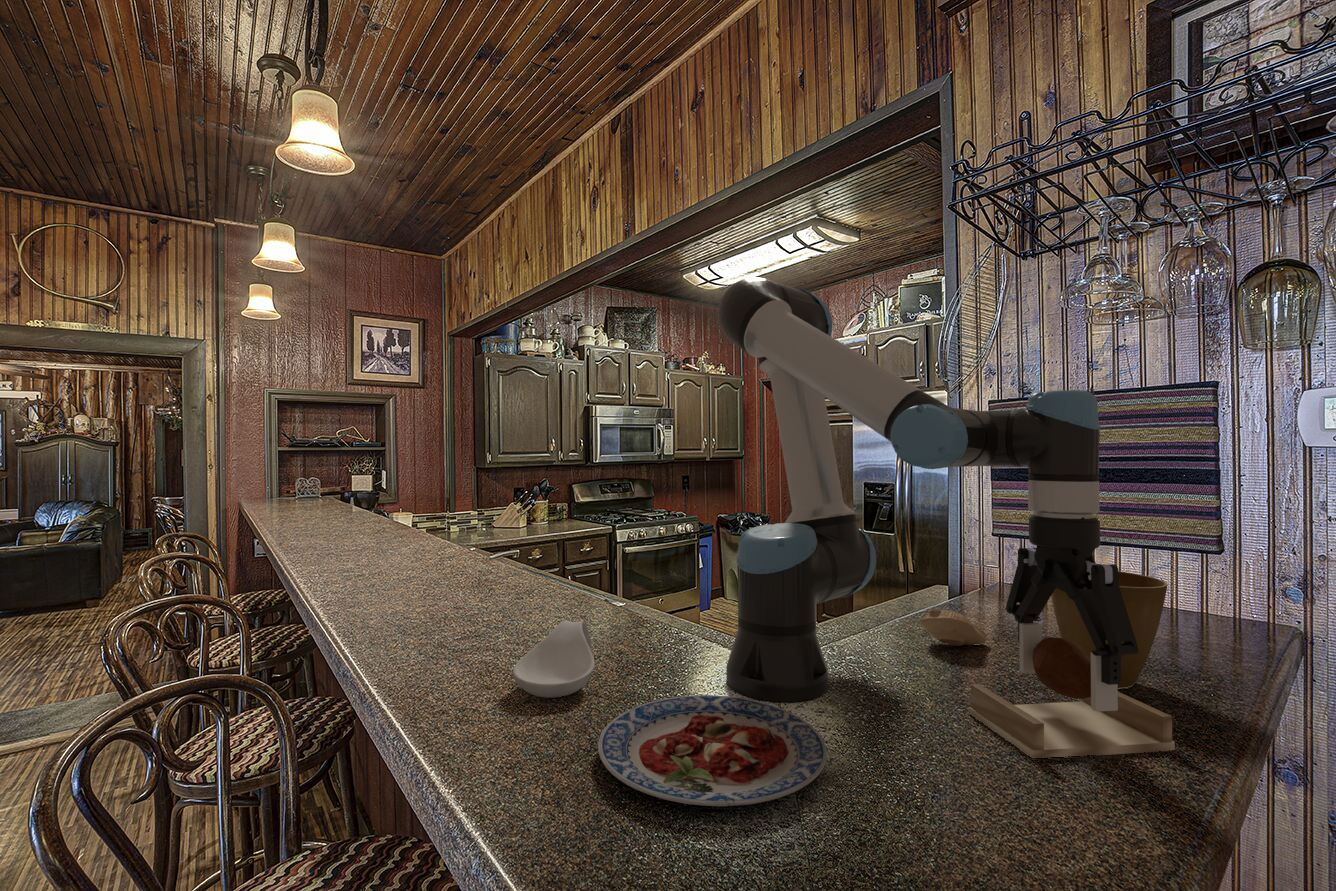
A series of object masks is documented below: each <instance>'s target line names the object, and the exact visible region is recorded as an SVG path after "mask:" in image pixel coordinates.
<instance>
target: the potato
mask: <svg viewBox="0 0 1336 891" xmlns="http://www.w3.org/2000/svg"><path fill="white" fill-rule="evenodd" d="M1032 659H1033V667H1034V670H1035V673H1034V674H1035V675H1036V677H1037V679H1038V680H1039V681H1040V682H1041V684H1042V685H1044V686H1045V687H1046V688H1048V689H1050V690H1051V691H1053V692H1054V693H1056V694H1058V695H1059V696H1060V695H1061V696H1064V697H1066V698H1070V699H1071V698H1072V699H1082V700H1083V698H1090V697H1091V660H1090V659H1089V658H1088V657H1087V655H1086V653H1085V652H1084V651H1083V650H1082V649H1081V648H1080V647H1079V646H1078V645H1076V644H1075V643H1074V642H1072V641H1070V640H1068V639H1064V638H1061V637H1051V636H1050V637H1046V638H1044V639H1043V638H1042V640H1041V641H1040V642H1039V643H1038V644H1037V645H1036V647H1035V648H1034V650H1033V657H1032Z"/></svg>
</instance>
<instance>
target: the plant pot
mask: <svg viewBox="0 0 1336 891" xmlns="http://www.w3.org/2000/svg"><path fill="white" fill-rule="evenodd" d="M1118 573H1119V587H1120V591H1121V594H1122V597H1123V600H1124V604H1125V607H1126V610H1127V613H1128V617H1129V620H1130V623H1131V626H1132V630H1133V633H1134V636H1135V639H1136V643H1137V646H1138V653H1137V654H1127V655H1122V657H1121V682H1120V684H1118V687H1128V686H1131V685H1133V684H1136V683H1137V681H1138V679H1139V677H1140V675H1141V672H1142V671H1143V668H1144V666H1145V664H1146V662H1147V660H1148V657H1149V655H1150V652H1151V649H1152V647H1153V645H1154V642H1155V639H1156V635H1157V633H1158V630H1159V625H1160V622H1161V618H1162V613H1163V610H1164V603H1165V600H1166V597H1167V596H1166V594H1167V590H1168V583H1167V582H1166V581H1164V580H1162V579H1160V578H1156V577H1154V576H1153V577H1152V576H1149V575H1148V576H1147V575H1144V574H1138V573H1132V572H1127V571H1121V570H1118ZM1084 589H1087V588H1086V586H1085V588H1084ZM1050 598H1051V602H1052V608H1053V612H1054V615H1055V619H1056V624H1057V627H1058V632H1059V634H1060V638H1064V639H1068V640H1070V641H1072V642H1074V643H1075V644H1076V645H1078V646H1079V647H1080V648H1081V649H1082V650H1083V651H1084V652H1085V653H1086V655H1087V657H1088V658H1089V659H1090V660H1091V652H1093V651H1094V650H1096V647H1095V645H1094V643H1093V641H1092V639H1091V637H1090V634H1089V632H1088V630H1087V628H1086V626H1085V624H1084V622H1083V619H1082V617H1081V615H1080V613H1079V611H1078V609H1077V606H1076V604H1075V602H1074V600H1072V599H1070V598H1069V597H1068V595H1067V593H1066V592H1064V591H1061V590H1060V589H1058V588H1056V589H1055V590H1054V592H1053V593H1052V595H1051V597H1050ZM1105 643H1106V644H1108V641H1107V640H1105ZM1121 643H1124V642H1121Z"/></svg>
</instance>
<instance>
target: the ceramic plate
mask: <svg viewBox="0 0 1336 891" xmlns="http://www.w3.org/2000/svg"><path fill="white" fill-rule="evenodd" d="M597 744H598V745H597V746H598V749H597V750H598V754H599V759H600V760H601V763H602V764H603V765H604V767H605V769H606V770H607V771H608V772H610V774H612V775H613V776H614V777H615V778H616V779H618V780H619V781H620V782H622V783H623V784H625V785H627V786H628V787H630V788H632V789H634V790H636V791H639V792H641V793H644V794H645V795H646V794H647V795H650V796H652V797H656V798H658V799H662V800H666V801H671V802H676V803H680V804H686V805H697V806H707V807H708V806H709V807H730V806H731V807H732V806H733V807H734V806H744V805H746V806H747V805H754V804H755V805H756V804H759V803H764V802H769V801H773V800H777V799H780V798H783V797H785V796H788V795H790V794H793V793H796V792H798V791H800V790H801V789H803V788H805V787H806V786H808V785H810V784H811V783H812V782H813V781H814V780H815V779H817V777H818V776H819V775H820V774H821V773H822V771H823V769H825V768H824V767H825V766H826V762H827V756H828V752H827V745H826V743H825V741H824V739H823V737H822V736H821V734H820V733H819V732H818V730H816V729H815V728H814V727H813V725H811V723H809V722H807V721H806V720H804V719H803V718H801V717H800V716H798V715H796V714H794V713H792V712H790V711H788V710H786V709H783V708H781V707H778V706H775V705H772V704H769V703H766V702H763V701H758V700H753V699H749V698H744V697H735V696H728V695H711V694H709V695H708V694H699V695H698V694H697V695H683V696H673V697H668V698H662V699H657V700H653V701H650V702H647V703H643V704H639V705H637V706H636V707H633V708H631V709H628V710H626V711H624V712H622V713H620V714H619V715H617V716H616V717H614V719H612V720H611V721H610V722H609V723H608V724H606V726H605V727H603V729H602V731H601V733H600V736H599V738H598V743H597Z"/></svg>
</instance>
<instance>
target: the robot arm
mask: <svg viewBox="0 0 1336 891" xmlns="http://www.w3.org/2000/svg"><path fill="white" fill-rule="evenodd" d="M717 321H718V326H719V328H720V330H721V332H722V334H723V335H724V336H725V338H726V339H727V340H729V342H730V343H731V344H733V345H735V346H736V347H738V348H740V349H741V351H744V352H745V353H746V354H749V356H751V357H753V358H756V359H758V365H759V370H760V371H762V372H763V373H765V374H766V375H767V376H769V380H770V385H771V392H772V396H773V397H772V398H773V403H774V410H775V414H776V421H777V426H778V427H777V428H778V432H779V438H780V443H781V445H780V446H781V450H782V456H783V462H784V468H785V469H784V470H785V475H786V480H787V481H786V482H787V485H788V493H789V497H790V504H791V510H792V511H791V513H790V515H788V517H787V519H786V520H785V521H784V522H781V523H780V522H779V523H777V522H776V523H774V524H770V523H769V524H762V525H757V526H754V527H751V528H749V529H747V530H746V531H744V532H743V533H742V534H741V536H740V537H739V540H738V548H737V555H736V564H737V565H736V566H737V631H736V635H735V638H734V641H733V645H732V648H731V649H730V653H729V657H728V660H727V663H726V683H727V685H728V686H729V687H730V688H731V689H732V690H733V691H736V692H737V693H738V694H739V693H740V694H741V695H744V696H747V697H751V698H753V699H758V700H763V701H768V702H769V701H771V702H786V703H787V702H791V703H792V702H800V701H802V702H803V701H808V700H812V699H815V698H817V697H820V696H822V695H824V694H825V693H826V692H827V691H828V689H829V671H828V667H827V664H826V660H825V657H824V654H823V651H822V649H821V645H820V642H819V639H818V636H817V605H818V604H822V603H824V602H825V603H826V602H827V601H831V600H835V599H844V598H847V597H848V596H851V595H853V594H854V593H856V592H858V591H860V590H861V589H863V588H865V586H866V585H867V584H868V583H869V582H870V580H871V579H872V577H873V574H874V573H875V569H876V565H877V554H876V553H877V552H876V549H875V545H874V544H873V541H872V539H871V537H870V536H869V535H868V534H866V533H865V532H864V530H863V529H861V528H860V527H859V526H858V521H857V516H856V512H855V510H853V509H852V508H850V507H849V506H847V505H846V504H845V502H844V498H843V492H842V491H843V490H842V486H841V479H840V476H839V470H838V469H839V468H838V465H837V458H836V452H835V446H834V442H833V437H832V430H831V425H830V420H829V413H828V409H827V404H826V400H828V401H830V402H831V403H832V404H834V405H836V406H837V407H839V408H840V409H842V410H843V411H844V412H846V413H847V414H849V415H850V416H852V417H853V418H855V419H856V420H858V421H859V422H861V423H862V424H864V425H865V426H867V427H868V428H870V429H871V430H873V431H874V432H876V433H877V434H879V435H880V436H881V437H883V438H885V439H886V440H888V441H890V442H891V446H892V449H893V450H894V452H895V454H896V455H897V456H898V458H900V460H901V461H903V462H904V463H906V464H908V465H910V466H914V467H918V468H922V469H926V470H936V469H937V470H938V469H944V468H961V467H963V468H965V467H968V468H969V467H1027V468H1028V477H1027V478H1028V481H1027V482H1028V484H1027V486H1028V489H1027V490H1028V495H1027V496H1028V498H1027V500H1028V501H1027V503H1028V505H1027V509H1028V510H1029V511H1031V512H1033V514H1030V516H1029V517H1028V541H1029V542H1030V543H1031V544H1032V545H1033V546H1036V547H1019V548H1018V549H1017V565H1016V568H1015V573H1014V576H1013V580H1012V583H1011V587H1010V591H1009V595H1008V598H1007V602H1006V606H1005V611H1006V613H1008V614H1012V615H1013V616H1014V619H1015V621H1016V622H1017V642H1018V645H1019V673H1021V674H1024V675H1029V674H1036V673H1035V670H1034V667H1033V659H1032V657H1033V650H1034V648H1035V647H1036V645H1037V644H1038V643H1039V642H1040V641H1041V640H1043V627H1042V626H1043V624H1042V623H1040V622H1041V621H1042V619H1041V617H1040V615H1041V613H1042V611H1043V610H1044V608H1045V607H1046V606H1047V603H1048V602H1049V600H1050V598H1051V595H1052V593H1053V592H1054V590H1055V589H1056V588H1058V589H1060V590H1061V591H1064V592H1066V593H1067V595H1068V597H1069V598H1070V599H1072V600H1074V602H1075V604H1076V606H1077V609H1078V611H1079V613H1080V615H1081V617H1082V619H1083V622H1084V624H1085V626H1086V628H1087V630H1088V632H1089V634H1090V637H1091V639H1092V641H1093V643H1094V645H1095V647H1096V650H1094V651H1093V652H1091V709H1092V710H1094V711H1096V712H1098V711H1116V710H1118V692H1119V691H1118V690H1119V689H1118V684H1120V682H1121V657H1122V655H1127V654H1137V653H1138V646H1137V643H1136V639H1135V636H1134V633H1133V630H1132V626H1131V623H1130V620H1129V617H1128V613H1127V610H1126V607H1125V604H1124V600H1123V597H1122V594H1121V591H1120V587H1119V573H1118V571H1119V568H1118V566H1117V565H1116V564H1114V563H1113V564H1111V563H1109V564H1107V563H1106V564H1101V563H1096V561H1095V558H1094V551H1095V550H1096V549H1097V548H1099V547H1100V545H1101V520H1099V519H1098V517H1095V516H1094V515H1096V514H1098V513H1099V512H1100V509H1101V508H1100V434H1101V433H1100V431H1101V426H1100V421H1099V408H1098V398H1097V397H1096V395H1095V394H1094V393H1092V392H1090V391H1087V390H1082V389H1081V390H1078V389H1077V390H1075V389H1070V390H1069V389H1068V390H1064V389H1063V390H1048V391H1040V392H1039V391H1038V392H1034V393H1032V394H1030V395H1029V396H1028V399H1027V404H1026V406H1025V407H1026V408H1020V409H1014V410H1012V409H1011V410H1010V409H1009V410H973V409H972V410H971V409H965V408H964V409H963V408H958V407H957V408H955V407H951V406H950V405H947V404H945V403H943V402H942V401H941V400H939V399H937V398H935V397H933V396H932V395H930V394H928V393H926V392H924V391H923V390H922V389H920V388H918V387H917V386H915V385H913V384H912V383H910V382H909V381H906V380H905V379H903V378H901V377H900V376H898V375H896V374H895V373H893V372H891V371H890V370H888V369H886V368H884V367H883V366H882V365H879V364H878V363H876V362H874V361H873V360H871V359H869V358H867V357H866V356H864V355H863V354H861V353H859V352H857V351H856V350H854V349H853V348H851V347H849V346H847V345H845V344H844V343H842V342H840V341H839V340H837V339H836V338H834V337H832V333H833V317H832V314H831V311H830V308H828V305H827V304H826V303H825V301H823V299H822V298H820V297H819V296H818V295H815V294H813V293H812V292H811V291H808V290H807V289H805V288H804V289H803V288H800V287H792V286H788V285H785V284H782V283H779V282H776V281H772V280H770V279H767V278H764V277H747V278H742V279H740V280H739V281H737V282H735V283H733V284H732V285H731V286H729V288H727V290H726V291H725V292H724V294H723V295H722V297H721V299H720V301H719V304H718V309H717ZM1085 586H1086V588H1087V589H1084V588H1085ZM1105 640H1107V641H1108V644H1106V643H1105ZM1121 642H1124V643H1121Z"/></svg>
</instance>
